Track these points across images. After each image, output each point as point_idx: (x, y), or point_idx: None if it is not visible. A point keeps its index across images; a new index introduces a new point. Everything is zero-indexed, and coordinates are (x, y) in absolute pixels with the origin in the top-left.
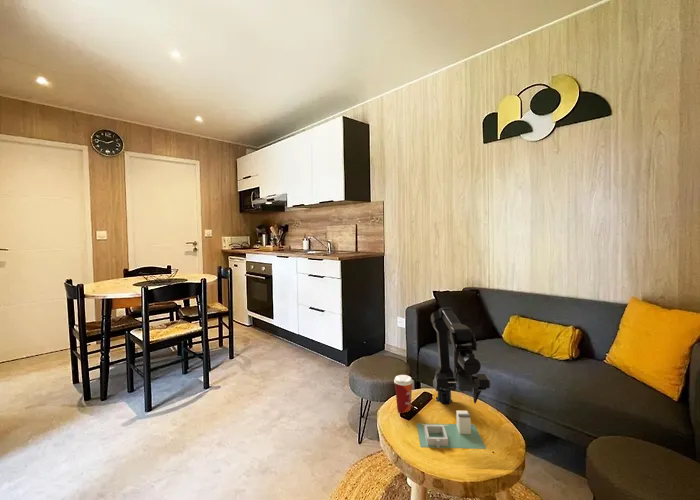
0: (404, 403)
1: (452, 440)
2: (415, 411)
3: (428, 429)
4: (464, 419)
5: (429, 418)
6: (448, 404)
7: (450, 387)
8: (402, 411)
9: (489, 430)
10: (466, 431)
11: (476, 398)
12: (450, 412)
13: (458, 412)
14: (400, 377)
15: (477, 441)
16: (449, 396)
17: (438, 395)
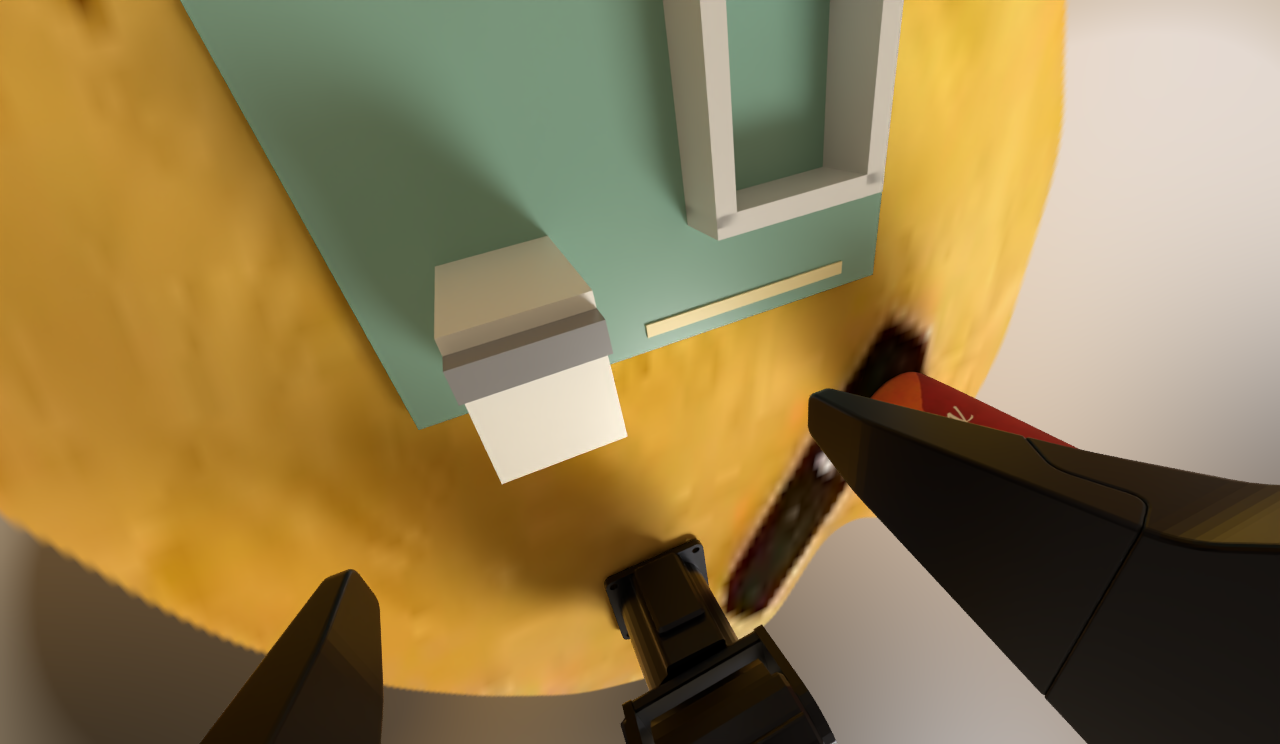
0: (967, 410)
1: (613, 90)
2: None
3: (830, 175)
4: (519, 304)
5: (762, 387)
6: (639, 570)
7: (677, 710)
8: (924, 377)
9: (264, 419)
10: (481, 261)
11: (253, 706)
12: (622, 508)
13: (602, 408)
14: None
15: (334, 138)
16: (942, 448)
17: (718, 606)
